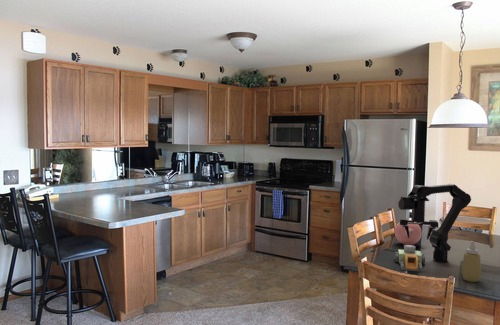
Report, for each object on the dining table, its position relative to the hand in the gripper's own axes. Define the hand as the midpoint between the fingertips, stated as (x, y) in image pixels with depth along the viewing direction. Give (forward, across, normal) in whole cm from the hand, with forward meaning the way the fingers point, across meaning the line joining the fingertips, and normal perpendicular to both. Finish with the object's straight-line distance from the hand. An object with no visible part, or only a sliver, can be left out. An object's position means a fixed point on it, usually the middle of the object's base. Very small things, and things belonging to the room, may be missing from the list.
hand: (417, 239), depth 222 cm
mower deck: (+12, +4, +2) cm, 13 cm away
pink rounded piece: (+12, +3, -34) cm, 36 cm away
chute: (+11, +4, +12) cm, 17 cm away
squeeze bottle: (+12, -21, +24) cm, 34 cm away
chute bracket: (+12, +4, +12) cm, 18 cm away
